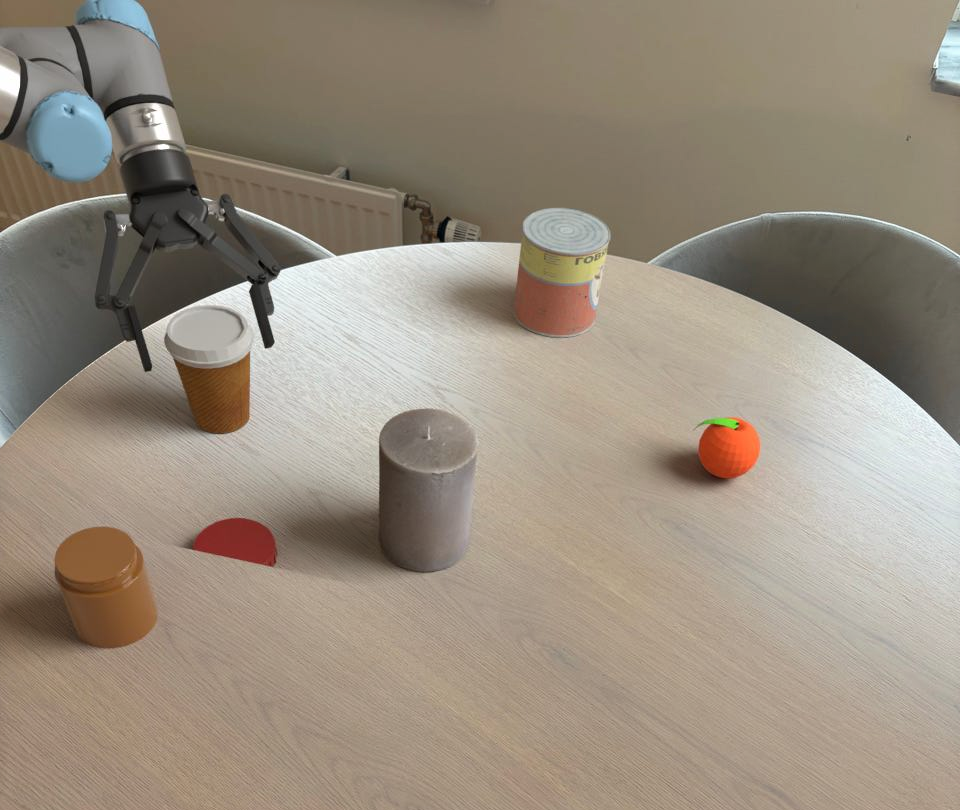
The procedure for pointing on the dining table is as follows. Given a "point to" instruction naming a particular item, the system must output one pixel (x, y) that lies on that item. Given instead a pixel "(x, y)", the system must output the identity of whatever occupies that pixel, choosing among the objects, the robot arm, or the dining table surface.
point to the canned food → (560, 271)
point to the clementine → (728, 447)
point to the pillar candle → (426, 488)
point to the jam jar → (105, 587)
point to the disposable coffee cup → (213, 364)
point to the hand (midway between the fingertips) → (210, 357)
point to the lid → (238, 541)
